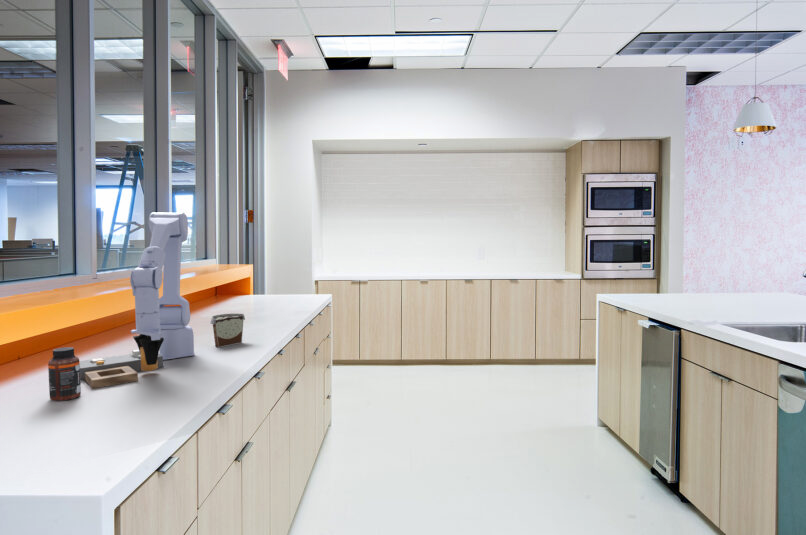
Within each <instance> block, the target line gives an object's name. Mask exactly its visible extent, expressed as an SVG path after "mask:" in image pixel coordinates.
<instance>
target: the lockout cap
mask: <svg viewBox="0 0 806 535" xmlns="http://www.w3.org/2000/svg"><path fill="white" fill-rule="evenodd" d="M140 354H141V370H140V371H142V372H150V371H155V370H158V369H159V368H158V360H157V363H156V364H153V365H147V363H146V359H145V353H144V349H143V347H140Z"/></svg>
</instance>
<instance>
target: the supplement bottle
mask: <svg viewBox="0 0 806 535" xmlns="http://www.w3.org/2000/svg"><path fill="white" fill-rule="evenodd" d="M52 356H53V357H51V359H50V360H48V362H47V367H48V368H47V369H48V370H47V371H48V388H49V392H48V393H49V399H50V400H51V401H54V402H64V401H69V400H72V399H76V398H78V397H80V396H81V394H82V390H81V389H82V388H81V380H80V362H79V361H80V357H78V356H76V355H75V348H74V347H72V346H71V347H70V346H69V347H68V346H67V347H59V348H55V349H53V350H52Z"/></svg>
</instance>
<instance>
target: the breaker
mask: <svg viewBox="0 0 806 535" xmlns="http://www.w3.org/2000/svg"><path fill="white" fill-rule="evenodd" d="M131 352H132V353H131V354H132V357H133V358H134V357H138V356H139V355H140V351H139V349H133V350H132V351H131Z"/></svg>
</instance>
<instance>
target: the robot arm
mask: <svg viewBox="0 0 806 535" xmlns="http://www.w3.org/2000/svg"><path fill="white" fill-rule="evenodd" d="M148 228H149V230H150V233H151V238H150V242H149V246H147V247H146V248H144V249H143V251H142V254H141V258H140V260H139V263H138V264H137V267H135V269H132V271H131V273H130V278H129V280H130V286H131V291H132V296H133V297H134V306H135V307H134V308H135V309H134V310H135V329H131V330H130V333H131V334H133V335H134V334H139V335H134V336H133V340H134V341H135V343H136V345H137V348H138V350H139V351H140V347H143V349H144V353H145V359H146V363H147V365H153V364H156V363H157V358H158V354H160V355H161V356H163V361H165V360H170V359H171V360H172V359H178V358H187V357H192V356H195V355H196V354H195V346H194V345H195V341H194V340H195V338H194V331H193V328H192V326H190V325H189V324H190V321H191V311H190V310H191V309H190V302H189V301H188V300H187V299H186V298H184V297H183V296H181V294H180V293H181V261H182V260H181V258H182V245H183V243H184V242H186V241H187V240H188V236H189V234H188V233H189V222H188V216H187V215H186V214H185V212H155V211H154V212H151V213H150V214H149V217H148ZM162 269H163V270H162ZM161 287H162V295H161V297H160V292H159V291H160V288H161ZM178 305H179V306H178ZM140 355H141V354H140Z"/></svg>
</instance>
